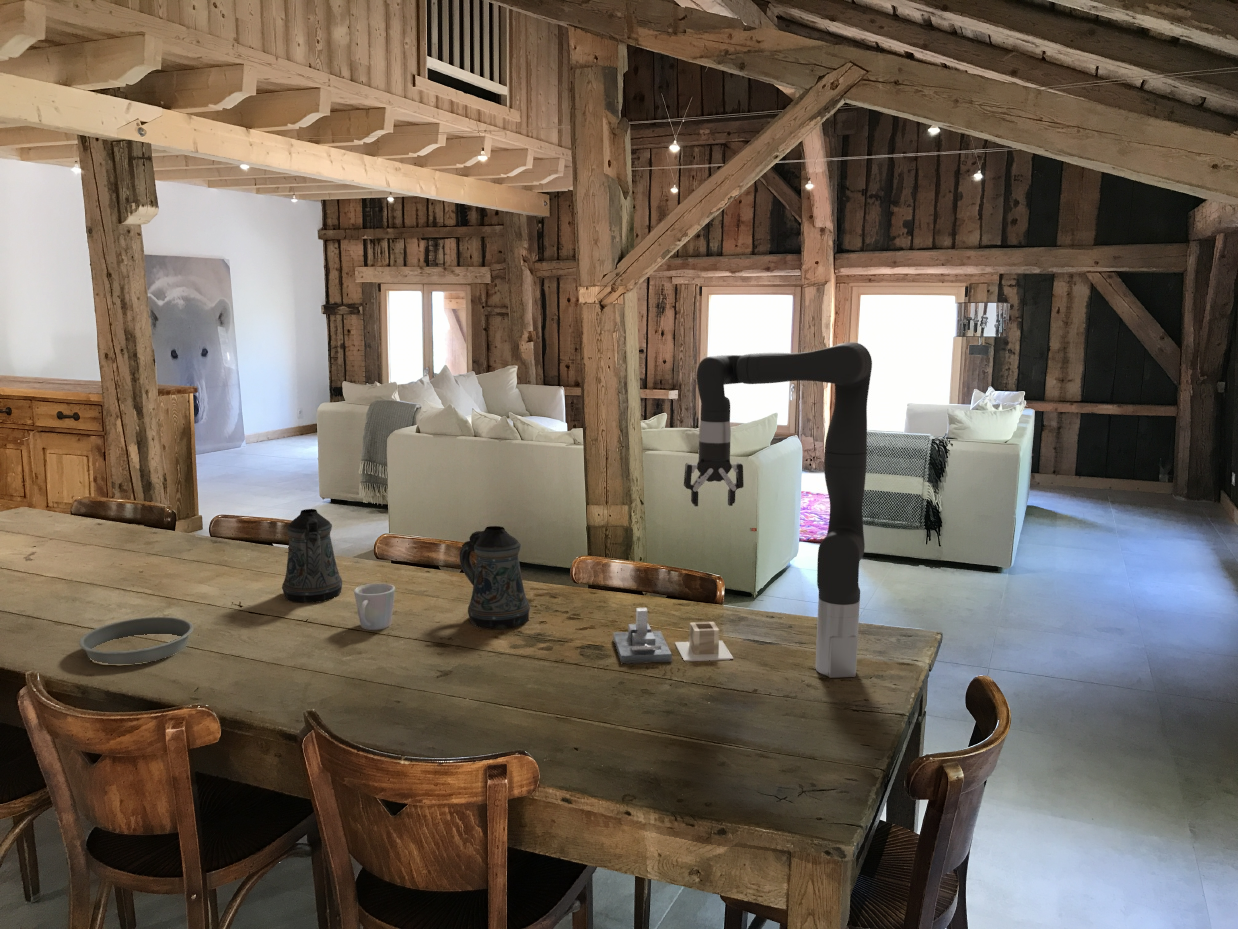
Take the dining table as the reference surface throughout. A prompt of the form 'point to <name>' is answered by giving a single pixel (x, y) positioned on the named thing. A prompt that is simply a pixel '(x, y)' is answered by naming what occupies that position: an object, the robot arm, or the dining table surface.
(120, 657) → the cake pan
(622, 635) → the vise
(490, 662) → the dining table surface
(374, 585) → the mug
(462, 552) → the beer stein
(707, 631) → the sleeve
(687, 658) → the mat
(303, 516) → the dark grey patterned jug
